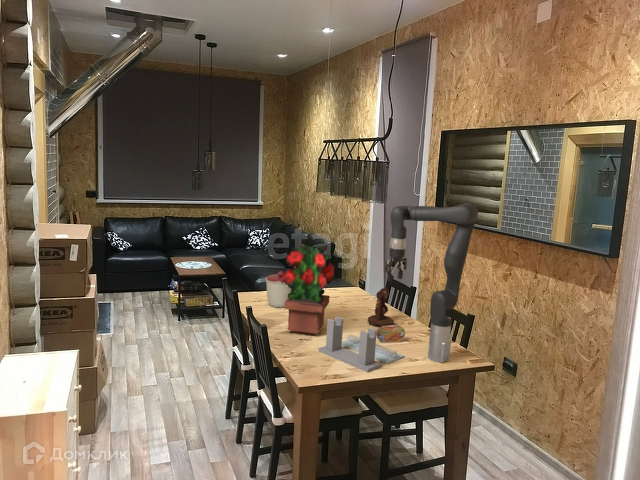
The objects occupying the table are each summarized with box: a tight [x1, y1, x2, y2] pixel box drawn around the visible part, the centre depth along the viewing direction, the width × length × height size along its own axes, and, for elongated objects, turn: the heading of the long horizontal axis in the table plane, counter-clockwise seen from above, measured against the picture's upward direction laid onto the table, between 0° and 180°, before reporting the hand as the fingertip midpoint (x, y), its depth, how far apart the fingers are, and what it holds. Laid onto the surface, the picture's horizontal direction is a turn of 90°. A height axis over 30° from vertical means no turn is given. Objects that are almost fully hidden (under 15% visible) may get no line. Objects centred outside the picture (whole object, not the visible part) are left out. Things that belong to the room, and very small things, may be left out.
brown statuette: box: [367, 287, 395, 327], centre depth 289 cm, size 15×15×20 cm
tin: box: [376, 324, 406, 344], centre depth 264 cm, size 15×3×8 cm, turn 105°
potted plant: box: [282, 243, 335, 337], centre depth 269 cm, size 22×22×45 cm
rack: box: [318, 315, 383, 373], centre depth 238 cm, size 30×10×16 cm, turn 46°
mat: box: [341, 339, 405, 365], centre depth 250 cm, size 30×13×1 cm, turn 46°
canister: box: [265, 271, 291, 308], centre depth 312 cm, size 18×18×21 cm
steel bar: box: [346, 333, 398, 359], centre depth 250 cm, size 28×3×3 cm, turn 46°
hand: (394, 279), depth 252 cm, fingers open, 8 cm apart
